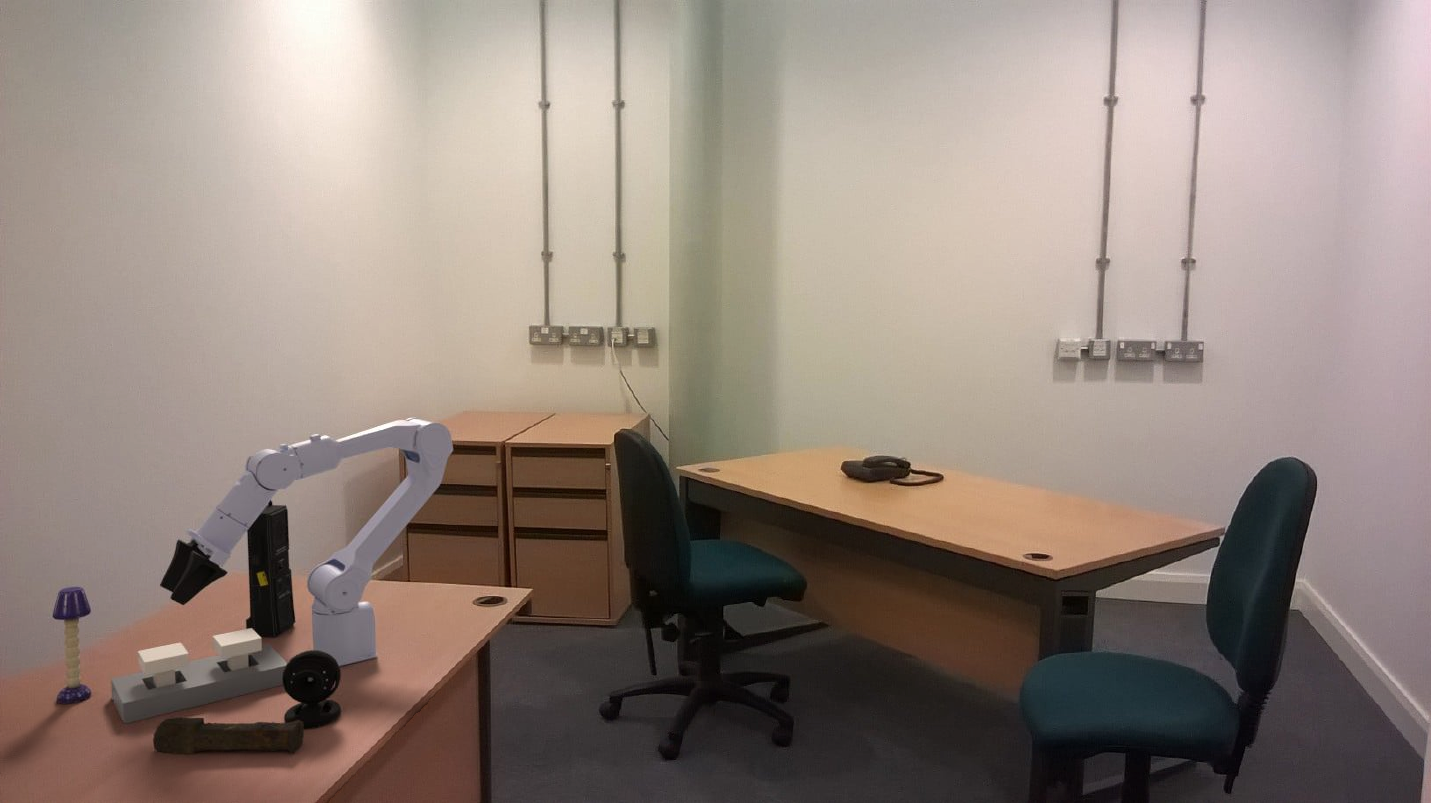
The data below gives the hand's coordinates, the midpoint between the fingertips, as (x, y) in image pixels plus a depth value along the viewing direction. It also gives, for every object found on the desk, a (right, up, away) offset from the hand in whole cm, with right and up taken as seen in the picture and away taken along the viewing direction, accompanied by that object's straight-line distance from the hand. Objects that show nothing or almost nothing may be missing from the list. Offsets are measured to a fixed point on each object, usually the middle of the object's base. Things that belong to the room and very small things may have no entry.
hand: (171, 595), depth 134 cm
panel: (+2, -16, +4) cm, 16 cm away
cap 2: (+6, -13, +7) cm, 16 cm away
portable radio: (+1, -13, +29) cm, 32 cm away
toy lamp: (-15, -16, +1) cm, 22 cm away
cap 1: (-1, -13, 0) cm, 13 cm away
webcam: (+23, -17, -4) cm, 29 cm away
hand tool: (+16, -18, -14) cm, 28 cm away
